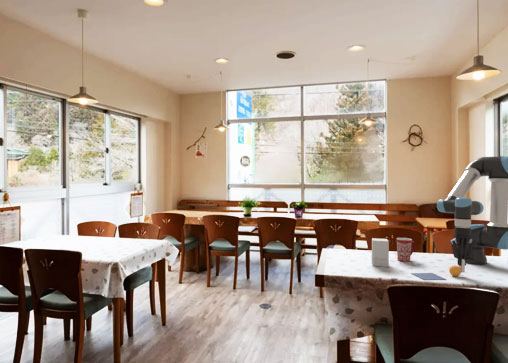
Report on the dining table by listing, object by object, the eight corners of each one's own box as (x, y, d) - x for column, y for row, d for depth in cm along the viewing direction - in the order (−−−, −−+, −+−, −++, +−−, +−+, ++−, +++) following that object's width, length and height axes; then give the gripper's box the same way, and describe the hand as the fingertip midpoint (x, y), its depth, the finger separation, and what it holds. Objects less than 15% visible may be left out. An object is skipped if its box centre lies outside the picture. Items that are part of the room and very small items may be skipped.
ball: (458, 270, 193) (453, 262, 193) (465, 273, 188) (460, 265, 187) (449, 276, 193) (445, 267, 192) (456, 279, 187) (451, 270, 187)
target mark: (432, 273, 195) (432, 272, 195) (446, 279, 183) (446, 279, 183) (411, 273, 194) (411, 273, 194) (423, 280, 182) (423, 279, 182)
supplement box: (387, 263, 216) (387, 238, 216) (388, 267, 207) (389, 241, 207) (371, 262, 218) (371, 237, 218) (372, 266, 210) (372, 240, 209)
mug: (402, 262, 219) (402, 240, 219) (392, 259, 228) (393, 237, 228) (419, 261, 223) (420, 239, 222) (409, 258, 231) (410, 237, 231)
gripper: (468, 226, 195) (467, 269, 195) (446, 226, 193) (445, 270, 193) (479, 228, 187) (478, 273, 187) (456, 227, 186) (454, 273, 186)
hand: (461, 271), depth 190 cm, fingers closed
